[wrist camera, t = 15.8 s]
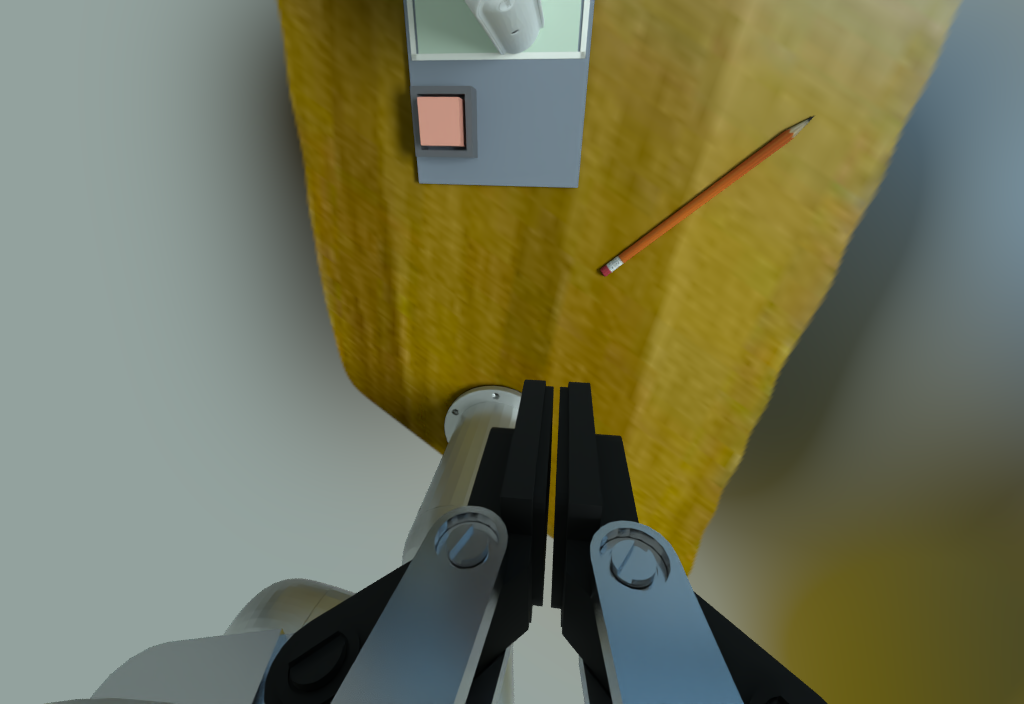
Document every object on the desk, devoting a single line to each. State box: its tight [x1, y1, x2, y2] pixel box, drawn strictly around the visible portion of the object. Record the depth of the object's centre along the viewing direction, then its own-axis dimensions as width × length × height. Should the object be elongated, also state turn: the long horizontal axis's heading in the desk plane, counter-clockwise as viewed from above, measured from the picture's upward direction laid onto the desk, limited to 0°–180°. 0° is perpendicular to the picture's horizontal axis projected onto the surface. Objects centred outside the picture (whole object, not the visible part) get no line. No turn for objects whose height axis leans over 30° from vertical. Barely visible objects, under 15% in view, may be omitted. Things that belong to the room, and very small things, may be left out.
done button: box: [417, 97, 467, 147], centre depth 30 cm, size 3×3×2 cm
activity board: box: [403, 0, 594, 188], centre depth 28 cm, size 20×14×2 cm
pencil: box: [600, 116, 814, 276], centre depth 32 cm, size 1×19×1 cm, turn 132°
